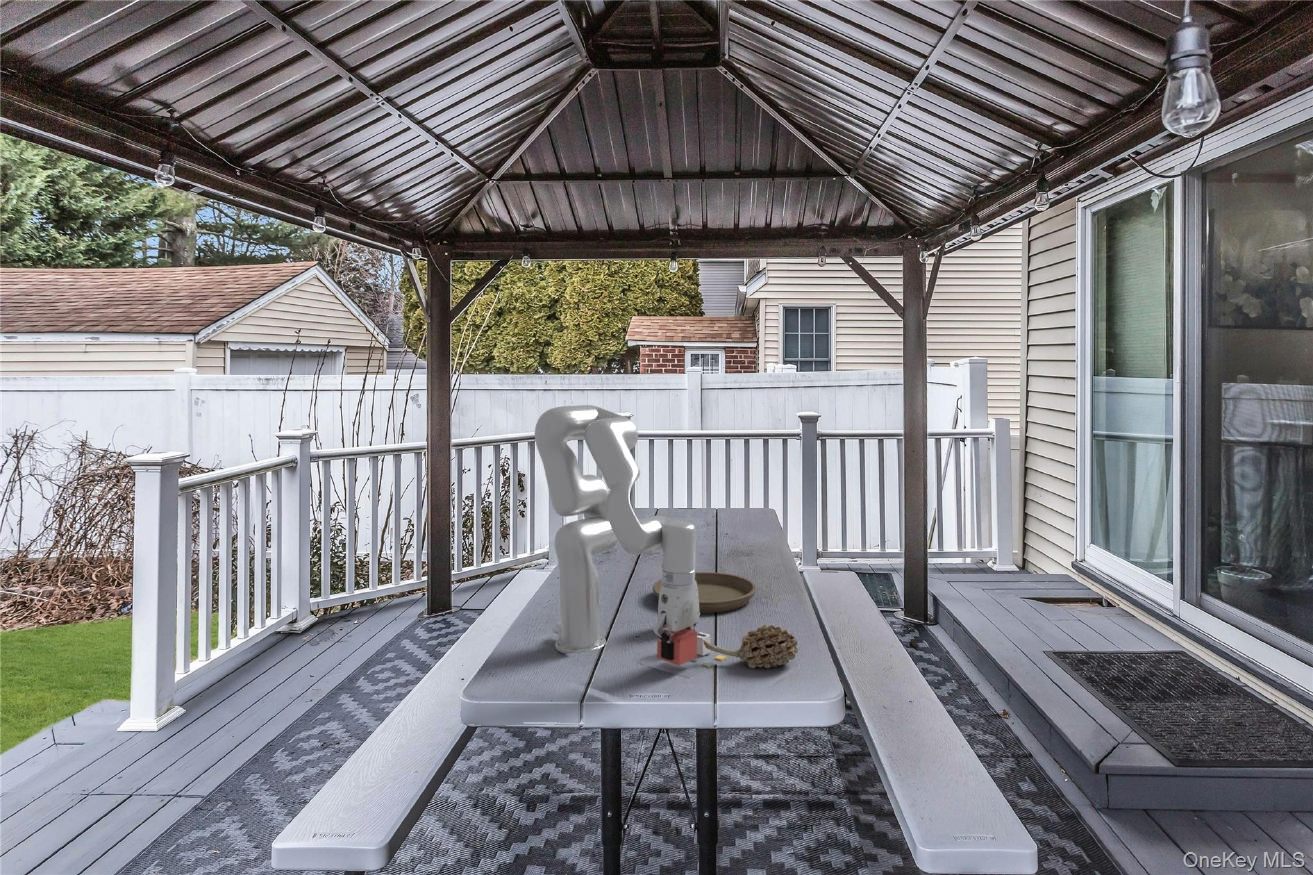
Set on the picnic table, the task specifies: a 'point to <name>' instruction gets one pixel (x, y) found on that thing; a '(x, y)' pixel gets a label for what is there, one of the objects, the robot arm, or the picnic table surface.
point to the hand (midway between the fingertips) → (677, 653)
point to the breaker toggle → (702, 643)
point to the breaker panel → (686, 664)
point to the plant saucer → (719, 591)
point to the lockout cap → (681, 646)
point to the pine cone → (763, 647)
